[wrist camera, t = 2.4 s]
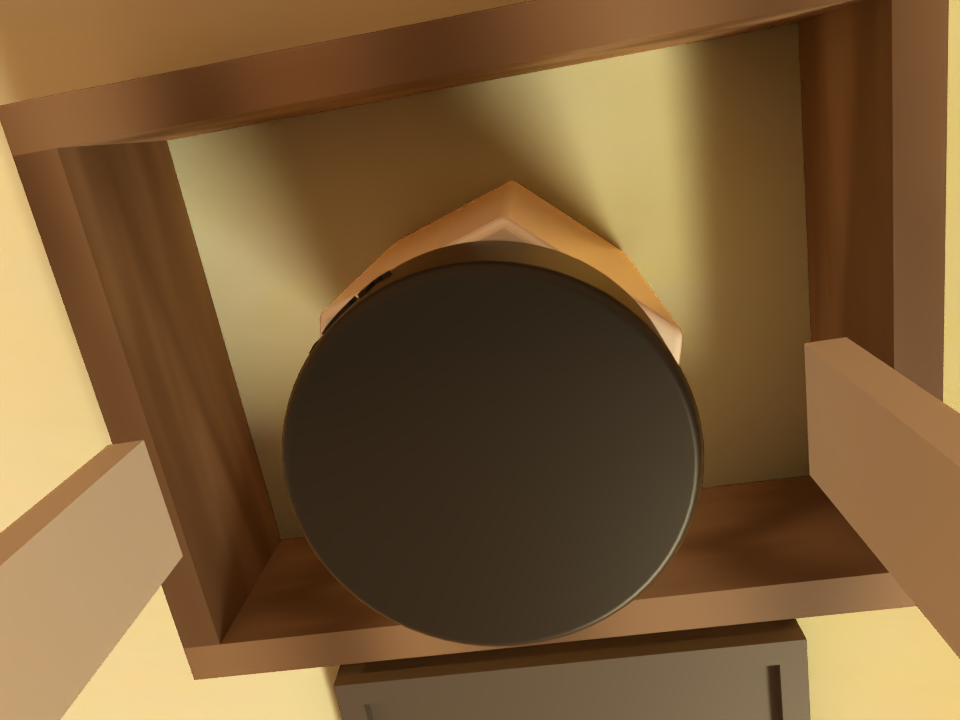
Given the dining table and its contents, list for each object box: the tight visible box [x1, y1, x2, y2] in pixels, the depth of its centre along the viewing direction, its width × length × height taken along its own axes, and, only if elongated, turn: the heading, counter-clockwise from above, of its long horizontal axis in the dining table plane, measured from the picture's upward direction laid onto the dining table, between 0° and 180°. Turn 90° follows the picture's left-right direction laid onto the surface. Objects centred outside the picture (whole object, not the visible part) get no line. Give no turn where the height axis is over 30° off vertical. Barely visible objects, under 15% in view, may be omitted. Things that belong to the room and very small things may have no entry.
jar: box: [282, 181, 704, 647], centre depth 20 cm, size 9×8×12 cm
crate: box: [0, 0, 949, 680], centre depth 23 cm, size 22×17×6 cm
